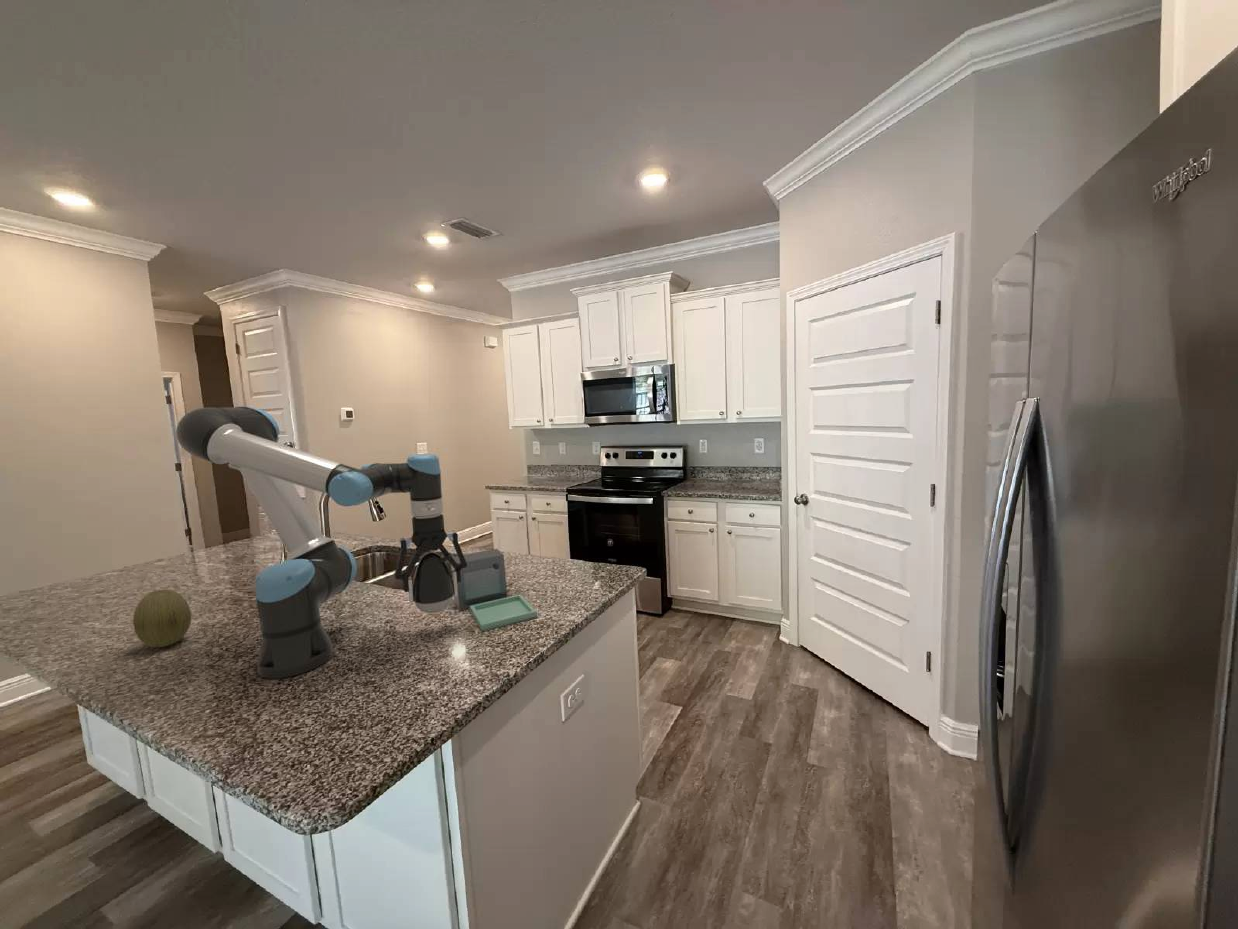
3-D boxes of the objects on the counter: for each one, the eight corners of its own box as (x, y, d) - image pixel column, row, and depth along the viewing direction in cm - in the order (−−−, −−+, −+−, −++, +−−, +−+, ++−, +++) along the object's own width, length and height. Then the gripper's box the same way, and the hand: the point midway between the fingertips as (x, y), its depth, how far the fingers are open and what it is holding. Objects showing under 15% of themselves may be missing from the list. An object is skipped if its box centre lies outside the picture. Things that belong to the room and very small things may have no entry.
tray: (482, 631, 129) (481, 625, 129) (470, 612, 142) (469, 606, 142) (537, 617, 136) (536, 611, 136) (521, 599, 149) (520, 594, 149)
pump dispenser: (447, 617, 124) (443, 558, 123) (406, 617, 125) (401, 559, 123) (461, 601, 135) (457, 546, 133) (423, 601, 135) (419, 547, 133)
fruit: (202, 639, 134) (193, 586, 132) (147, 659, 124) (137, 601, 122) (185, 631, 139) (176, 580, 138) (131, 649, 130) (121, 595, 128)
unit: (459, 611, 143) (455, 564, 141) (454, 601, 150) (450, 557, 149) (507, 600, 149) (504, 555, 147) (500, 591, 157) (496, 548, 155)
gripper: (378, 524, 118) (386, 613, 121) (476, 512, 128) (481, 594, 131) (377, 518, 125) (385, 603, 127) (470, 507, 135) (475, 585, 138)
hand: (433, 598), depth 129 cm, fingers closed on pump dispenser, 10 cm apart
